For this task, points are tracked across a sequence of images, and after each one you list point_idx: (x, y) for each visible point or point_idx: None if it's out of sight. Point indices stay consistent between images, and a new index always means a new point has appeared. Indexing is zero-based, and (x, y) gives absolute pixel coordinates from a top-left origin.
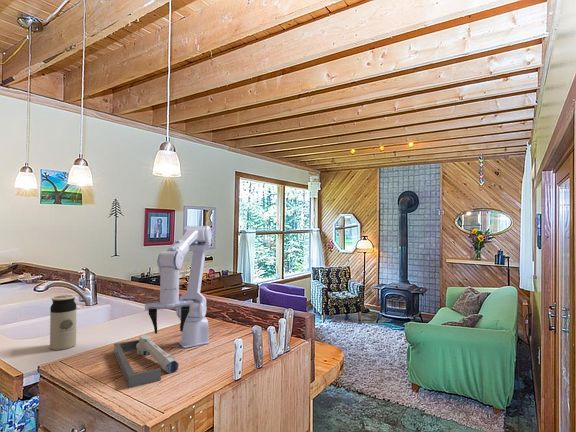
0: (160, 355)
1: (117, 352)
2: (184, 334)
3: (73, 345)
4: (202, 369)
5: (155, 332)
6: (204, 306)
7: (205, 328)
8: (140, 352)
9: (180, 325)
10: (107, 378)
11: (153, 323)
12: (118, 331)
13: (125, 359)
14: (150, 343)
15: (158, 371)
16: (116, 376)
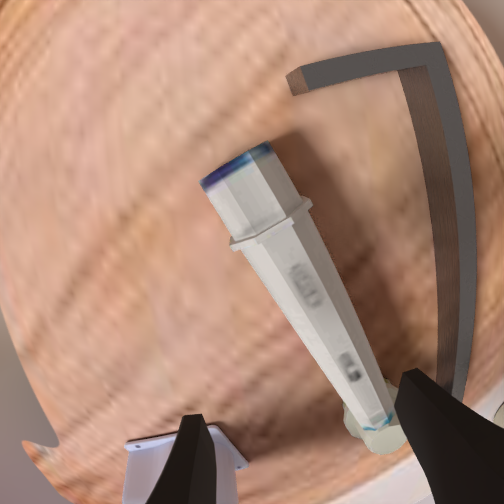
0: (323, 269)
1: (469, 347)
2: (220, 477)
3: (502, 407)
4: (77, 179)
5: (420, 373)
6: None
7: (133, 494)
8: (386, 382)
9: (210, 471)
10: (484, 175)
11: (479, 418)
12: (405, 486)
13: (464, 266)
14: (374, 395)
15: (310, 65)
16: None
